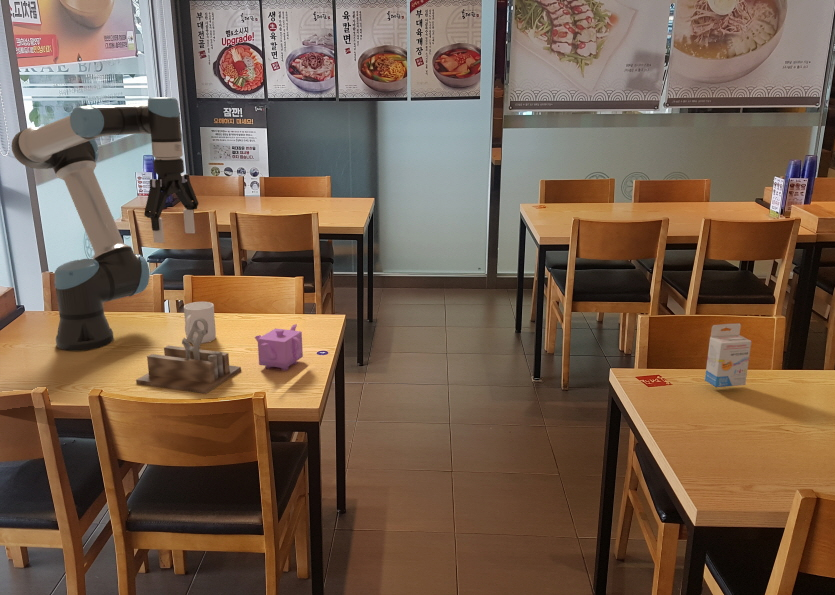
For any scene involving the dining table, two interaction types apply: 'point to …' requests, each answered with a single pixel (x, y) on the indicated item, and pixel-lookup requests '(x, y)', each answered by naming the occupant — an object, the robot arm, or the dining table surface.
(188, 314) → the mug
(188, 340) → the bracket
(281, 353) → the teapot
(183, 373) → the letter rack
